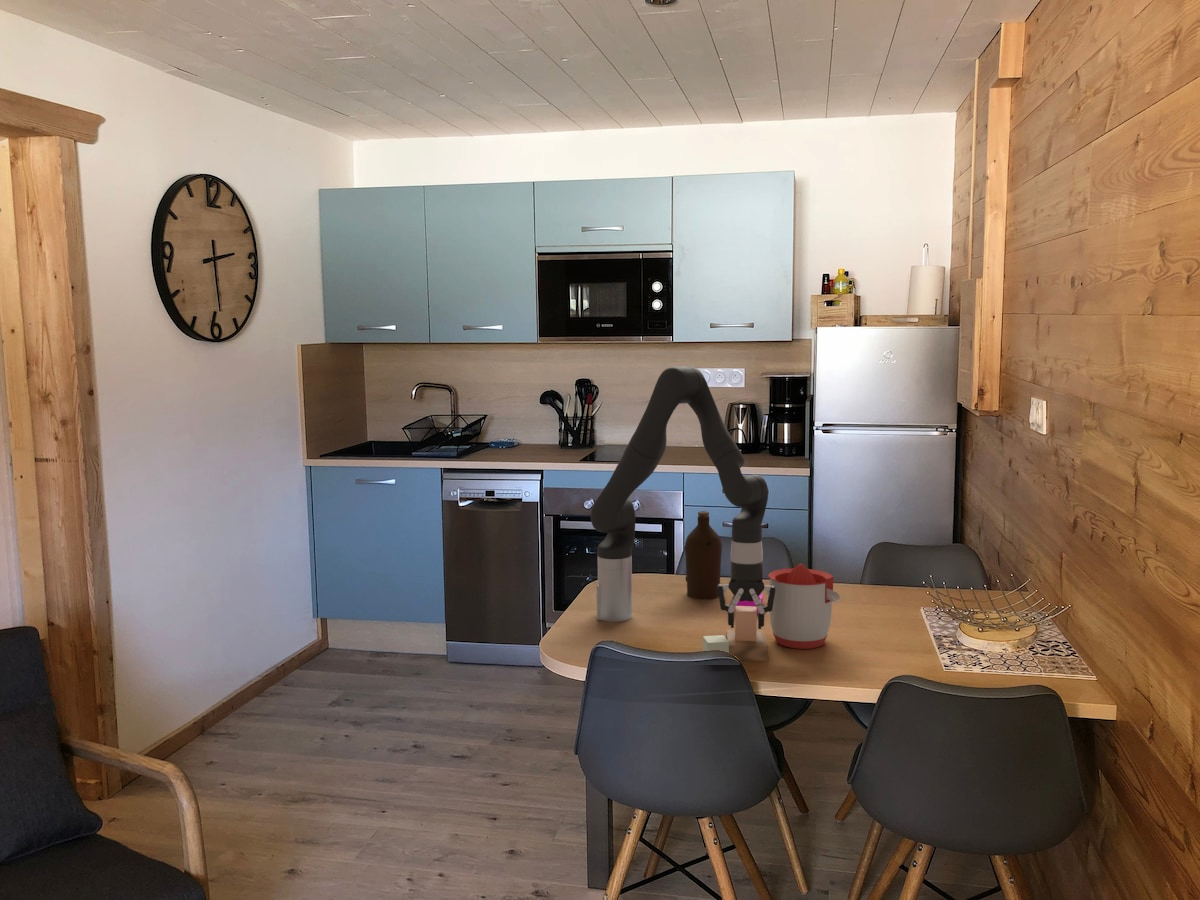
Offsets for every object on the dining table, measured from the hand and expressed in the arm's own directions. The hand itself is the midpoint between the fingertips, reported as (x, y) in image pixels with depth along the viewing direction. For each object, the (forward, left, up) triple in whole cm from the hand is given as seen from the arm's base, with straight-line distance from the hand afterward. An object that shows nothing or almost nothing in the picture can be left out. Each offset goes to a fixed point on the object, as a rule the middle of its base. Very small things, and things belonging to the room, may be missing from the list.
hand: (746, 627), depth 228 cm
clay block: (0, 0, -2) cm, 2 cm away
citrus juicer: (+14, +8, -6) cm, 17 cm away
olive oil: (-12, +48, -6) cm, 50 cm away
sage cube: (-7, -6, -6) cm, 11 cm away
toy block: (+2, +38, -6) cm, 39 cm away
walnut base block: (0, 0, -7) cm, 7 cm away
